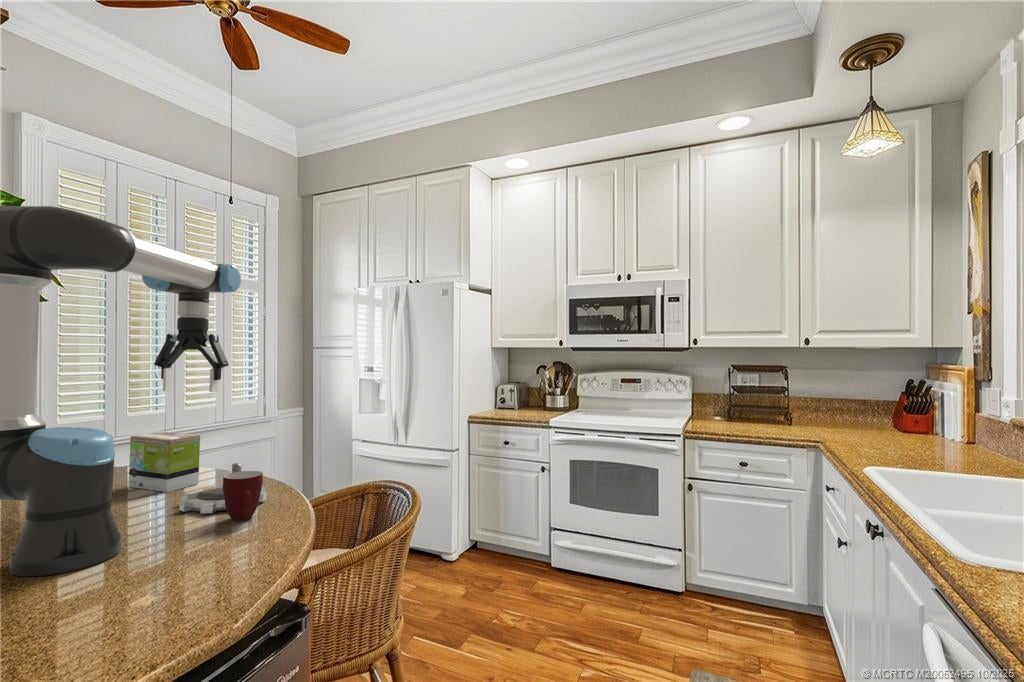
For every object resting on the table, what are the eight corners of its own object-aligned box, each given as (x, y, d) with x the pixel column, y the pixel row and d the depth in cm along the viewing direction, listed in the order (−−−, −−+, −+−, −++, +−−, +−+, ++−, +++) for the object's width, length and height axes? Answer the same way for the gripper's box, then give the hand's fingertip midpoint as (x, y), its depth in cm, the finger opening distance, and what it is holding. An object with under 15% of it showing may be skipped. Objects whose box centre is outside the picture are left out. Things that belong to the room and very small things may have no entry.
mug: (270, 521, 110) (272, 476, 111) (231, 529, 104) (232, 483, 105) (254, 510, 118) (256, 469, 118) (217, 518, 112) (218, 474, 112)
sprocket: (239, 514, 113) (240, 480, 114) (158, 512, 114) (159, 478, 114) (281, 492, 133) (282, 462, 133) (211, 490, 133) (212, 461, 134)
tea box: (126, 488, 136) (128, 435, 137) (161, 480, 146) (163, 430, 146) (166, 493, 132) (168, 438, 133) (200, 484, 142) (201, 433, 142)
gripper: (243, 318, 143) (240, 391, 142) (161, 318, 144) (158, 389, 143) (227, 316, 135) (224, 392, 134) (141, 315, 136) (137, 391, 136)
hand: (190, 391), depth 139 cm, fingers open, 13 cm apart
